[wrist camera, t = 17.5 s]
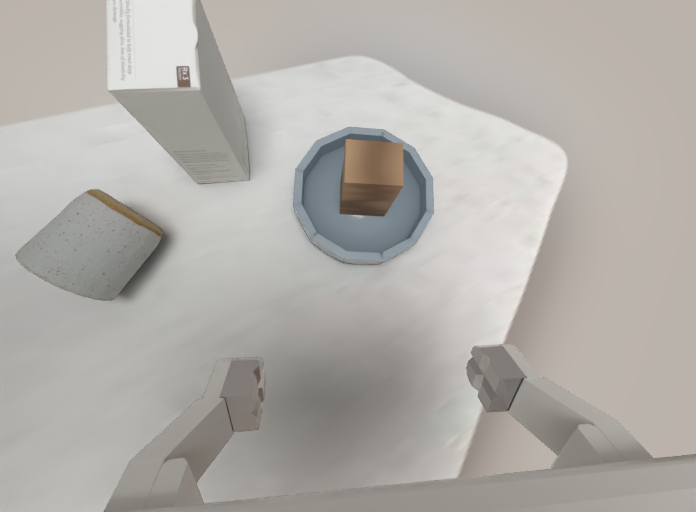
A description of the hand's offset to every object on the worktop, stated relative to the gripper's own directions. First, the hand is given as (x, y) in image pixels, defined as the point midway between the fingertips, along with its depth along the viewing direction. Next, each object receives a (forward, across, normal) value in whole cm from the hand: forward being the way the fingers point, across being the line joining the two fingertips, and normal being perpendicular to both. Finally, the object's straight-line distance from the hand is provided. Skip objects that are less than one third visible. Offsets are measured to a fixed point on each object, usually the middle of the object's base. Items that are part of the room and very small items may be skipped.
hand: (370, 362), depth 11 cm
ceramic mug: (+22, +23, +6) cm, 32 cm away
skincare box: (+29, +12, -3) cm, 31 cm away
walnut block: (+24, -3, +1) cm, 24 cm away
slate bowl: (+24, -3, +1) cm, 25 cm away
